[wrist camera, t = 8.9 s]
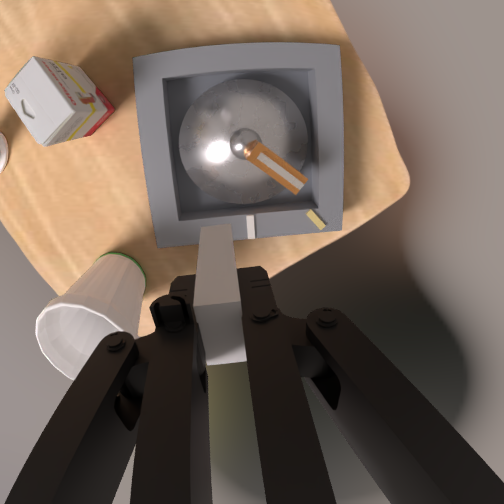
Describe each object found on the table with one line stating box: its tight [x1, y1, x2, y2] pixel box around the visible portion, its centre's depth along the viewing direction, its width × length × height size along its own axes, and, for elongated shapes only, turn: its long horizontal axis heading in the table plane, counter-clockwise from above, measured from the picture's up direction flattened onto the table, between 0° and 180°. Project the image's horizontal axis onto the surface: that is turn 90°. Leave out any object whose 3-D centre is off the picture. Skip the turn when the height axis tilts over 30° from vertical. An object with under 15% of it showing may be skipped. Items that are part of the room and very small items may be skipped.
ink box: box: [4, 56, 115, 146], centre depth 26 cm, size 9×5×12 cm, turn 36°
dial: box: [179, 79, 308, 204], centre depth 31 cm, size 14×14×7 cm
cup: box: [36, 253, 146, 380], centre depth 35 cm, size 12×12×15 cm
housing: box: [133, 42, 344, 248], centre depth 34 cm, size 22×22×5 cm
